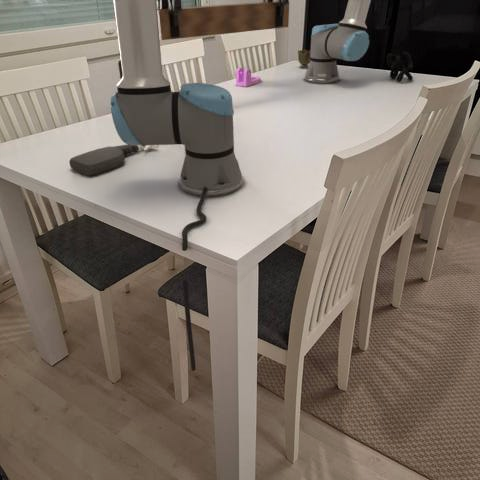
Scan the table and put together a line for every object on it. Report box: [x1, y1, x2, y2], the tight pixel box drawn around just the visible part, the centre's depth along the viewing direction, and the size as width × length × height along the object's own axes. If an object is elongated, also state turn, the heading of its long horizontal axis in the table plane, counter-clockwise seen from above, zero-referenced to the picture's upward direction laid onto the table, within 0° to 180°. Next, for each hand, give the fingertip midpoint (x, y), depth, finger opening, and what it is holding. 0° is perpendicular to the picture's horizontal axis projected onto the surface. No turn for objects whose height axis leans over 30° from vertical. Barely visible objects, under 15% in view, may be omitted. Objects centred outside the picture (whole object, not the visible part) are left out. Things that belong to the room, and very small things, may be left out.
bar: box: [157, 0, 290, 41], centre depth 150 cm, size 51×5×8 cm, turn 124°
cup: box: [297, 49, 311, 69], centre depth 225 cm, size 8×7×8 cm
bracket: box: [235, 67, 262, 88], centre depth 199 cm, size 13×6×7 cm, turn 143°
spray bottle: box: [68, 144, 160, 177], centre depth 124 cm, size 3×11×24 cm
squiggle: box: [385, 51, 414, 83], centre depth 198 cm, size 11×10×15 cm
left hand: (171, 35), depth 142 cm, fingers closed on bar, 5 cm apart
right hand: (274, 25), depth 162 cm, fingers closed on bar, 5 cm apart
